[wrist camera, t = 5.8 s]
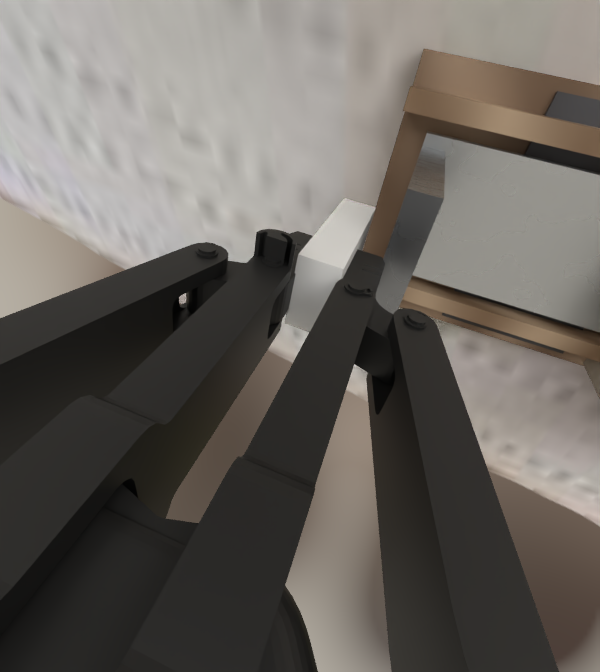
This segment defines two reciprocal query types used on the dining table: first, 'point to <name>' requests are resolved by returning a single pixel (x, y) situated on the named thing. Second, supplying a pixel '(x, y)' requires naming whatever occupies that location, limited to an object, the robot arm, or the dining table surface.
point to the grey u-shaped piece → (499, 230)
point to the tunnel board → (504, 133)
